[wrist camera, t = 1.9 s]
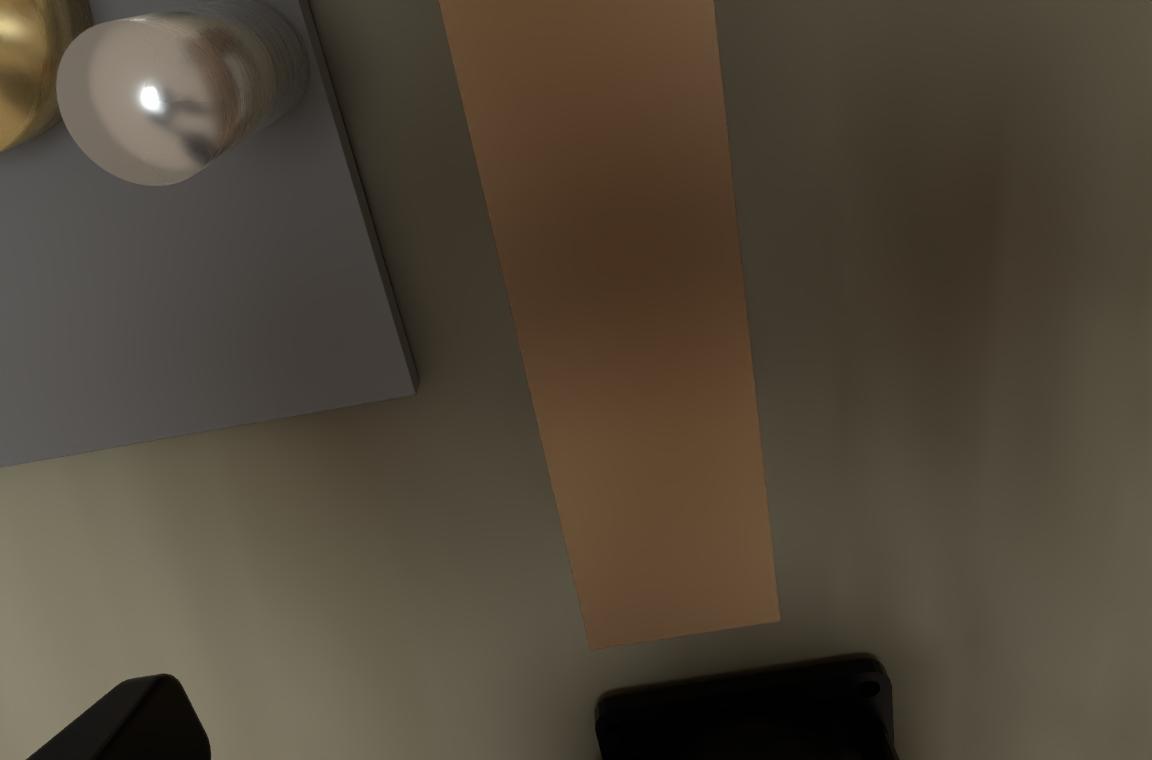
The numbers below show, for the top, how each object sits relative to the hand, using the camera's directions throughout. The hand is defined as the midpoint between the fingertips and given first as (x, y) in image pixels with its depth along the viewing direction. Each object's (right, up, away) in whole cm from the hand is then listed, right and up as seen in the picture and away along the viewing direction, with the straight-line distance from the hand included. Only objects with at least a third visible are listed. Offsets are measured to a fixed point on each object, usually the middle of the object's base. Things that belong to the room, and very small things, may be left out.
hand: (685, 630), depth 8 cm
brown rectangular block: (-1, +7, +7) cm, 10 cm away
